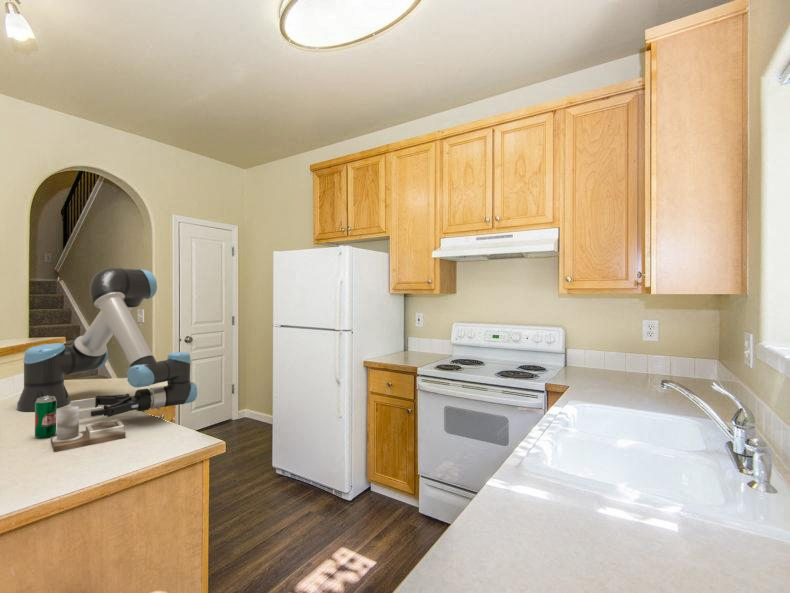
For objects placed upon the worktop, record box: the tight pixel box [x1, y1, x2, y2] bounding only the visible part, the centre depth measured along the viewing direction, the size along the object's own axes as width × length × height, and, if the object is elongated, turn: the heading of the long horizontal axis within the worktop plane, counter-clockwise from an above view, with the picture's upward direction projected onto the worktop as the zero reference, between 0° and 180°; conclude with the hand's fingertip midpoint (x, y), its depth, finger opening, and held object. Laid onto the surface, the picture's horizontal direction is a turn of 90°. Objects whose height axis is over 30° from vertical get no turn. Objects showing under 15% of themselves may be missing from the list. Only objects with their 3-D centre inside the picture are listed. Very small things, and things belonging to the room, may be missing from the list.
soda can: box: [34, 396, 58, 440], centre depth 125 cm, size 5×5×12 cm
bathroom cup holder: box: [50, 405, 127, 453], centre depth 123 cm, size 17×10×10 cm, turn 135°
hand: (73, 410), depth 129 cm, fingers open, 13 cm apart
